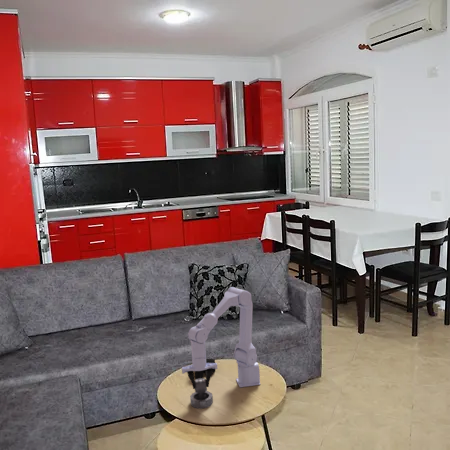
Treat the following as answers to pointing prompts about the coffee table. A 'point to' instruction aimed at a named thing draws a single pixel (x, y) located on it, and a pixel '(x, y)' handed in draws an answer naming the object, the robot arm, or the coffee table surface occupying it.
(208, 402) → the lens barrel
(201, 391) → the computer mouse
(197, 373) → the film camera
